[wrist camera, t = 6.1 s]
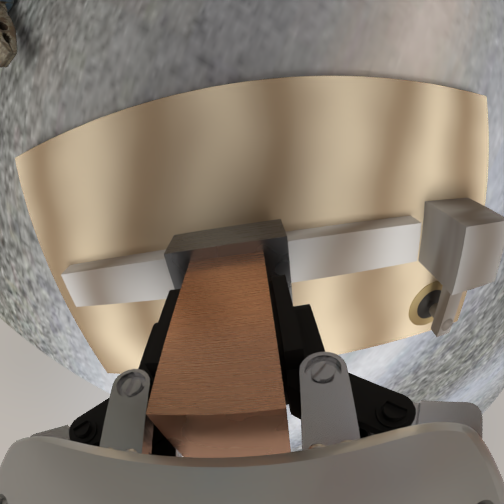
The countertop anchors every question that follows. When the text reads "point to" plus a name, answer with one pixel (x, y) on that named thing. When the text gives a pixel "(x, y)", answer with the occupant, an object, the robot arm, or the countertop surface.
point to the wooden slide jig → (274, 203)
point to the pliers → (7, 34)
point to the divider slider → (223, 345)
